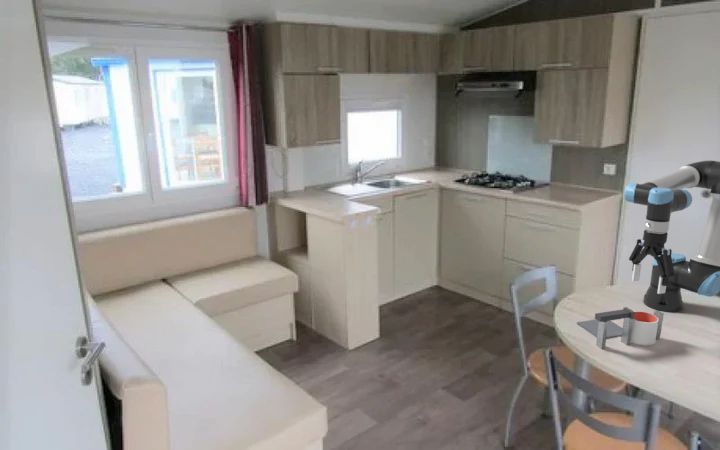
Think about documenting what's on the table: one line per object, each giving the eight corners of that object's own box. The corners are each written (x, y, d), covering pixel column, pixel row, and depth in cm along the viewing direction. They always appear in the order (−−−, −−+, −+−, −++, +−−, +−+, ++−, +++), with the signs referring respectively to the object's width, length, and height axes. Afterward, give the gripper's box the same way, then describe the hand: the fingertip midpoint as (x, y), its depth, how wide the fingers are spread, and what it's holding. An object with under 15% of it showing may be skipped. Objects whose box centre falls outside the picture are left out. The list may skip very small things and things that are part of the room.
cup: (658, 348, 195) (662, 323, 193) (629, 346, 197) (633, 321, 195) (650, 335, 205) (653, 312, 202) (622, 333, 207) (625, 310, 204)
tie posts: (653, 336, 204) (657, 310, 201) (659, 339, 201) (663, 313, 198) (596, 345, 198) (599, 318, 195) (601, 349, 195) (604, 322, 192)
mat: (605, 319, 219) (606, 317, 219) (630, 334, 206) (630, 333, 206) (576, 323, 216) (576, 322, 215) (599, 339, 202) (599, 338, 202)
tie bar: (625, 313, 199) (626, 307, 198) (633, 318, 194) (634, 311, 194) (593, 318, 195) (594, 311, 195) (601, 323, 191) (602, 316, 190)
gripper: (623, 223, 199) (616, 276, 205) (674, 241, 177) (665, 300, 183) (639, 221, 201) (632, 274, 207) (692, 239, 178) (682, 298, 184)
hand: (647, 286), depth 195 cm, fingers open, 12 cm apart
